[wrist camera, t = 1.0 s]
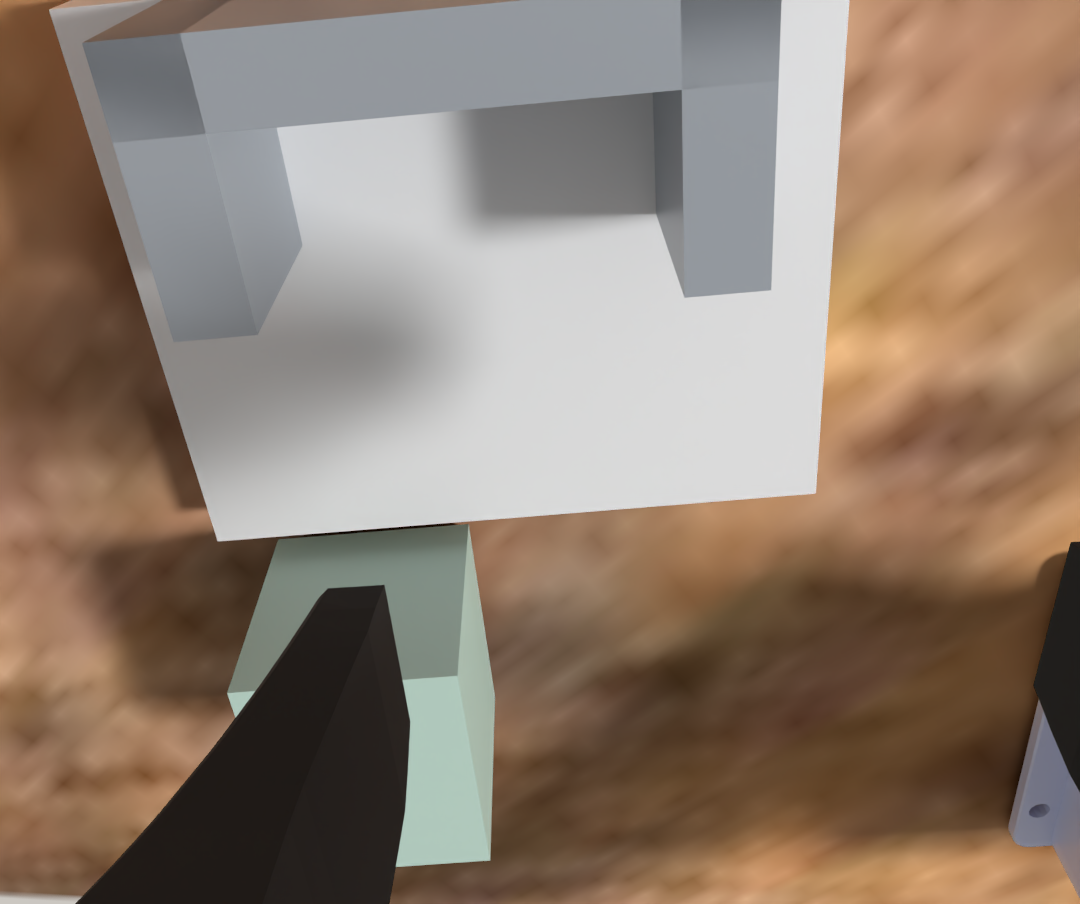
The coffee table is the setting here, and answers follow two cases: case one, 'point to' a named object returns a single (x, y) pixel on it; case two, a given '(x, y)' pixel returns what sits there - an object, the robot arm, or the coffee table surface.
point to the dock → (474, 246)
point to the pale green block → (404, 668)
